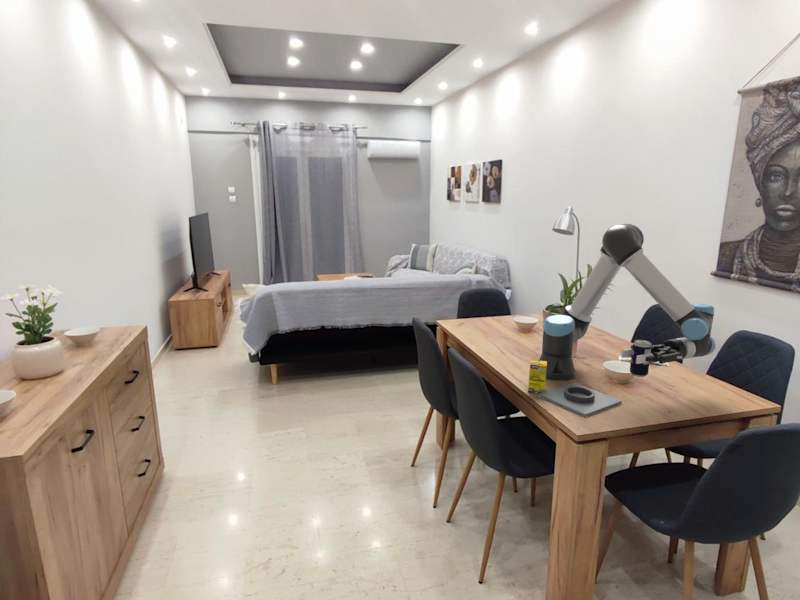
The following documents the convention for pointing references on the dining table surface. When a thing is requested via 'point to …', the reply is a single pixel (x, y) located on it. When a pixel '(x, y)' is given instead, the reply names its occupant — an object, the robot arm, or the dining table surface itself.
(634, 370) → the beverage can
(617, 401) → the ring socket
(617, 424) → the dining table surface
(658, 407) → the dining table surface
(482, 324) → the dining table surface
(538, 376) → the supplement box
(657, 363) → the cloth
